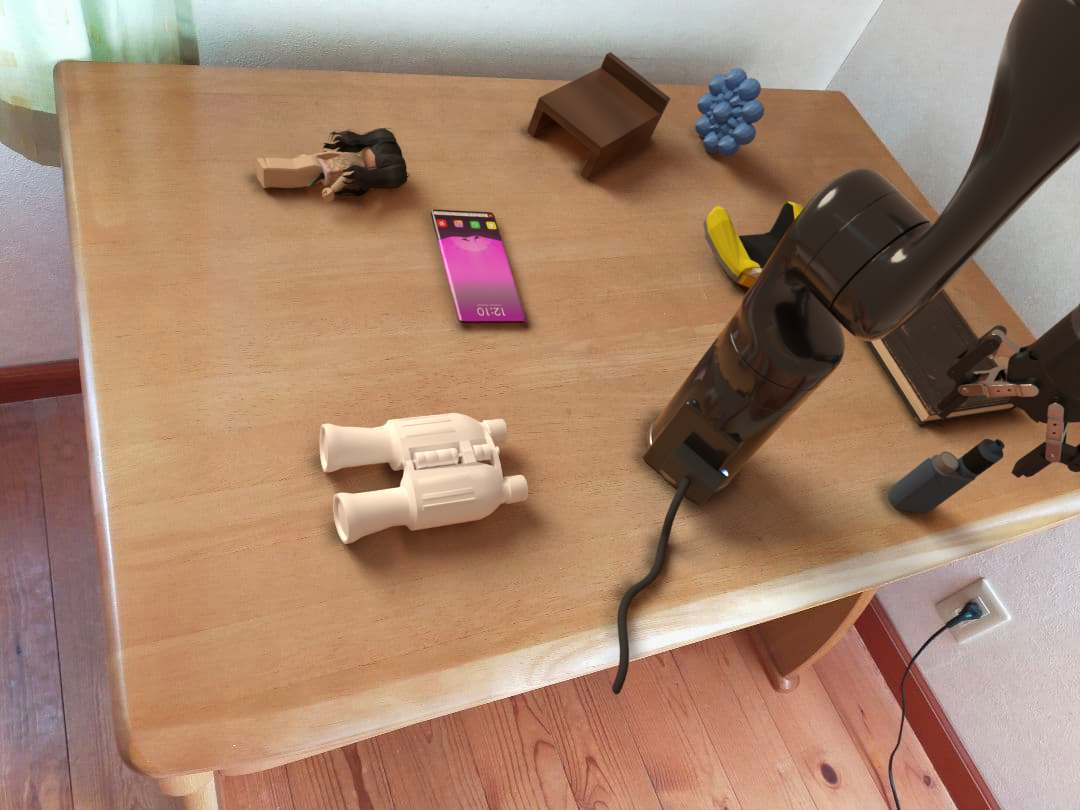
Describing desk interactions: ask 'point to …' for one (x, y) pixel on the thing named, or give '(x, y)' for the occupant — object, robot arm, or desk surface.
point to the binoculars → (421, 472)
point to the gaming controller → (745, 243)
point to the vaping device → (943, 477)
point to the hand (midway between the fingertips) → (979, 441)
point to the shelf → (603, 112)
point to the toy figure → (341, 165)
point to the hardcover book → (933, 362)
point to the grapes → (729, 112)
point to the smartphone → (477, 267)
